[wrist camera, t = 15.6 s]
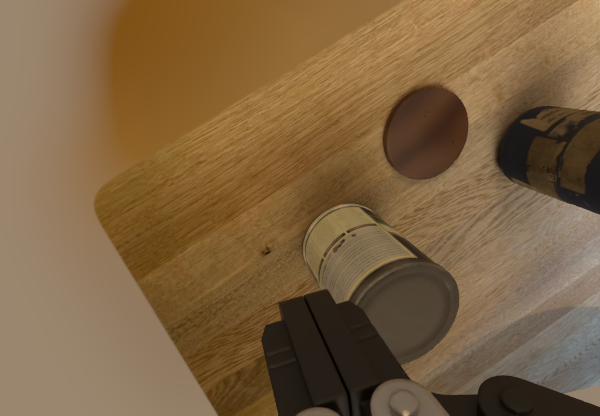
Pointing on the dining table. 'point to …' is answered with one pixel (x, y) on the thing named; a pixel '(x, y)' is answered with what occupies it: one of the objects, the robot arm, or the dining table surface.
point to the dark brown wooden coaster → (425, 133)
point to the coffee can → (382, 278)
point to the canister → (555, 154)
